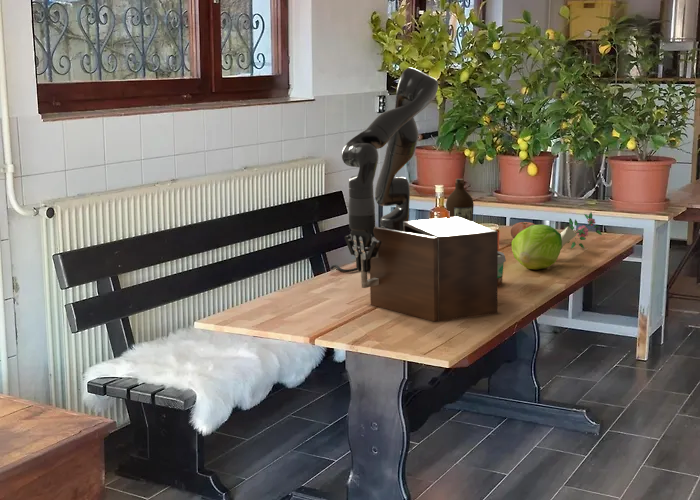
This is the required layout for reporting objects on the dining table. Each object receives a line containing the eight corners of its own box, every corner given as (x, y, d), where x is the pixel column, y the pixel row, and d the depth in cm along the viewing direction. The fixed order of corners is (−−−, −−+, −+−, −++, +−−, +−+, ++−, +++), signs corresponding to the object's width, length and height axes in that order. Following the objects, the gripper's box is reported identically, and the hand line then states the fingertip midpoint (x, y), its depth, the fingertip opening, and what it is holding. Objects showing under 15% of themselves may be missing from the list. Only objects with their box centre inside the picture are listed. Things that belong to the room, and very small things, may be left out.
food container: (504, 289, 292) (505, 258, 290) (484, 289, 294) (485, 258, 292) (506, 280, 304) (506, 250, 302) (487, 279, 305) (487, 249, 303)
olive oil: (442, 241, 368) (442, 178, 363) (468, 239, 370) (467, 176, 365) (451, 246, 358) (451, 181, 353) (477, 244, 360) (477, 180, 355)
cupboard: (439, 321, 261) (438, 236, 256) (404, 298, 285) (403, 221, 280) (497, 313, 266) (497, 231, 261) (458, 292, 291) (458, 216, 286)
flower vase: (541, 279, 334) (577, 240, 360) (572, 273, 326) (607, 234, 352) (530, 249, 332) (567, 213, 358) (560, 243, 324) (596, 206, 350)
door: (419, 326, 256) (418, 241, 251) (355, 308, 275) (353, 229, 270) (438, 320, 261) (437, 237, 256) (374, 303, 280) (372, 226, 275)
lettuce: (503, 278, 316) (496, 235, 313) (530, 261, 331) (524, 219, 328) (548, 279, 306) (542, 234, 302) (573, 261, 321) (568, 218, 317)
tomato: (541, 244, 357) (541, 223, 356) (512, 245, 358) (513, 224, 356) (536, 238, 368) (536, 218, 366) (508, 239, 368) (508, 219, 366)
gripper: (335, 211, 270) (338, 269, 274) (369, 217, 260) (370, 277, 264) (354, 207, 275) (356, 264, 278) (388, 212, 265) (389, 272, 269)
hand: (363, 270), depth 271 cm, fingers closed on door, 2 cm apart
